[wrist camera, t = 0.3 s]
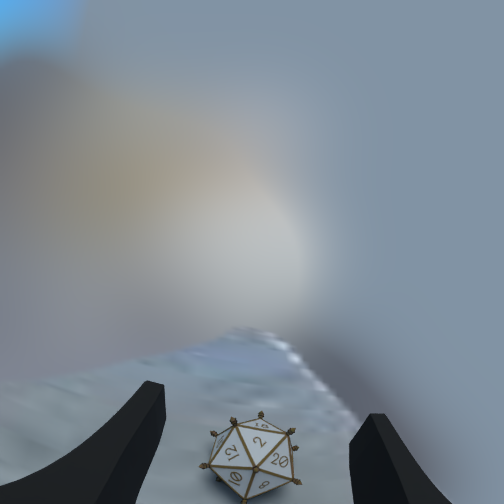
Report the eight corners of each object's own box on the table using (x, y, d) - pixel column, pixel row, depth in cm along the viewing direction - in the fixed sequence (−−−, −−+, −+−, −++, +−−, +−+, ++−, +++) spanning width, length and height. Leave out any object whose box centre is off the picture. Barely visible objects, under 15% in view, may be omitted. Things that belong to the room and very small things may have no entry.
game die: (254, 474, 27) (325, 425, 26) (247, 531, 19) (338, 485, 18) (189, 429, 27) (258, 372, 26) (165, 485, 19) (251, 429, 18)
